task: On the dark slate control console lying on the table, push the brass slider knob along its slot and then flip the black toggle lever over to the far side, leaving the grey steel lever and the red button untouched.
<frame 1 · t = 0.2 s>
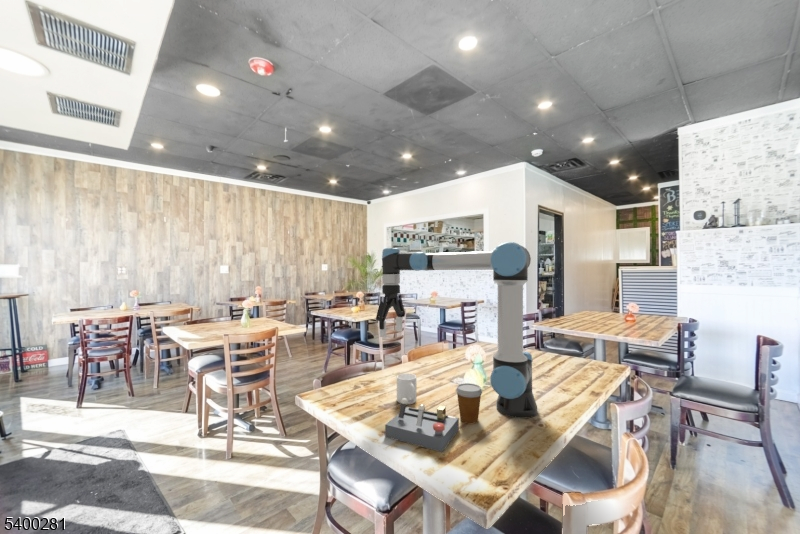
hand: (391, 334, 142), 28 cm above the table, fingers open, 13 cm apart
mug: (408, 403, 139), on the table
steel lever: (420, 415, 109), point 8 cm above the table, hinge at 25.0°
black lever: (403, 407, 115), point 8 cm above the table, hinge at 30.0°
red button: (438, 433, 104), resting on console
console: (422, 433, 113), on the table
brass slider: (441, 413, 114), point 6 cm above the table, slide at 0.0 cm
disposable coffee cup: (469, 420, 122), on the table
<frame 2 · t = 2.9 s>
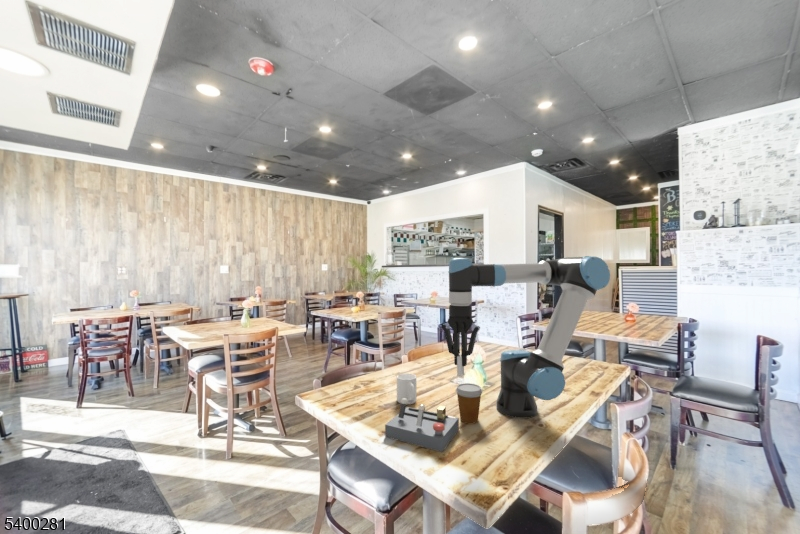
hand: (460, 375, 111), 20 cm above the table, fingers closed
nothing on the table moved.
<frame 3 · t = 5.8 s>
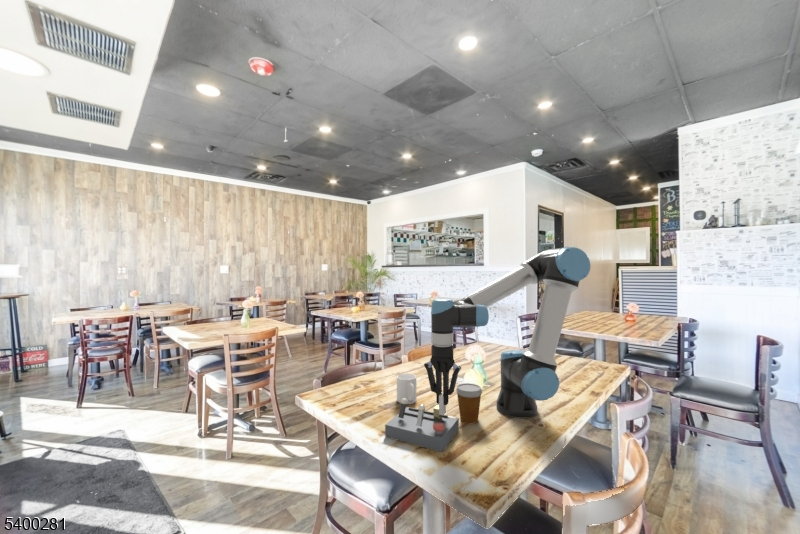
hand: (442, 413, 114), 6 cm above the table, fingers closed
brass slider: (437, 412, 115), point 6 cm above the table, slide at 1.3 cm, touching gripper
everything else where it was.
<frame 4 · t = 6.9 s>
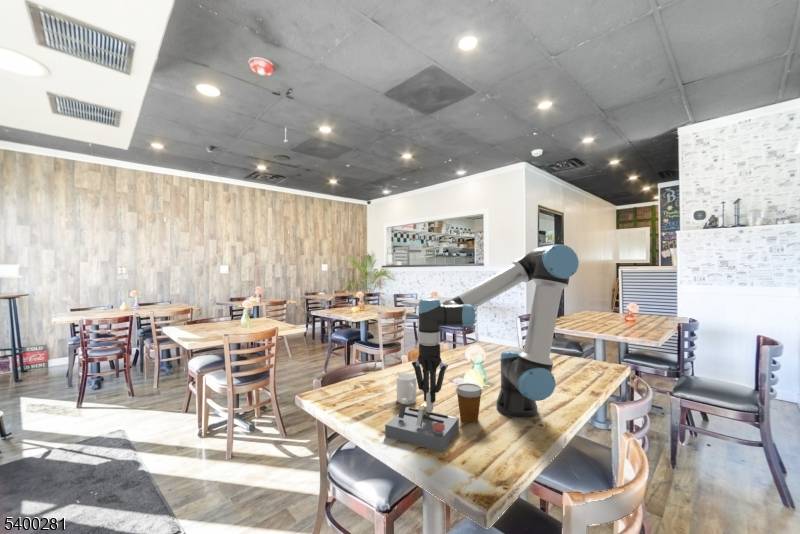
hand: (429, 410, 116), 6 cm above the table, fingers closed
brass slider: (425, 409, 117), point 6 cm above the table, slide at 6.0 cm, touching gripper
everything else where it was.
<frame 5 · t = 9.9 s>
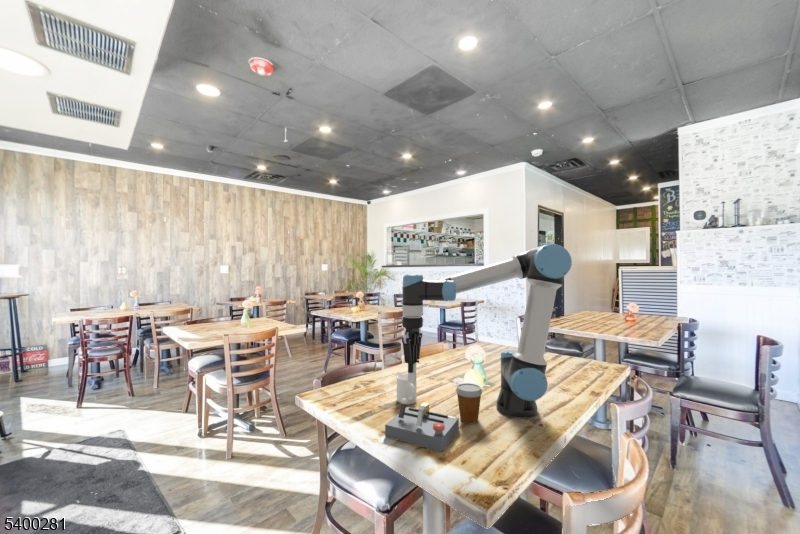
hand: (412, 380, 122), 15 cm above the table, fingers closed
brass slider: (424, 409, 117), point 6 cm above the table, slide at 6.2 cm
everything else where it was.
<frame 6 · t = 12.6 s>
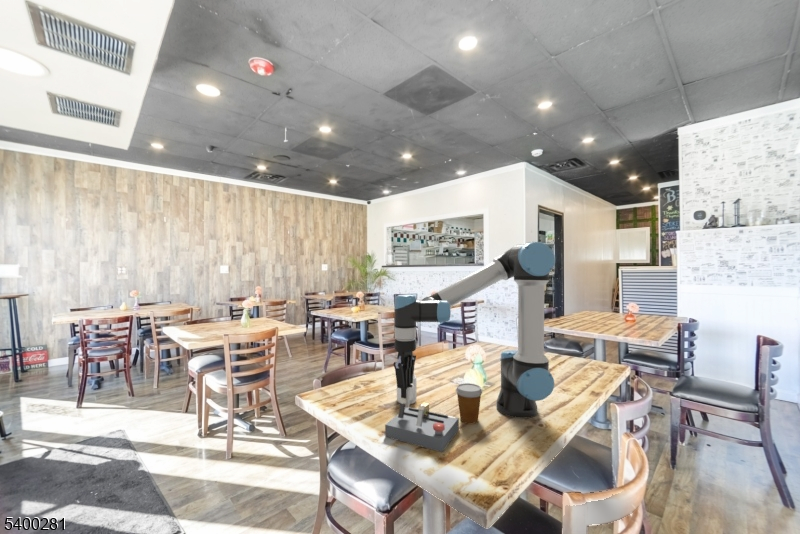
hand: (405, 406, 117), 7 cm above the table, fingers closed
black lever: (402, 407, 115), point 8 cm above the table, hinge at 21.3°, touching gripper
everything else where it was.
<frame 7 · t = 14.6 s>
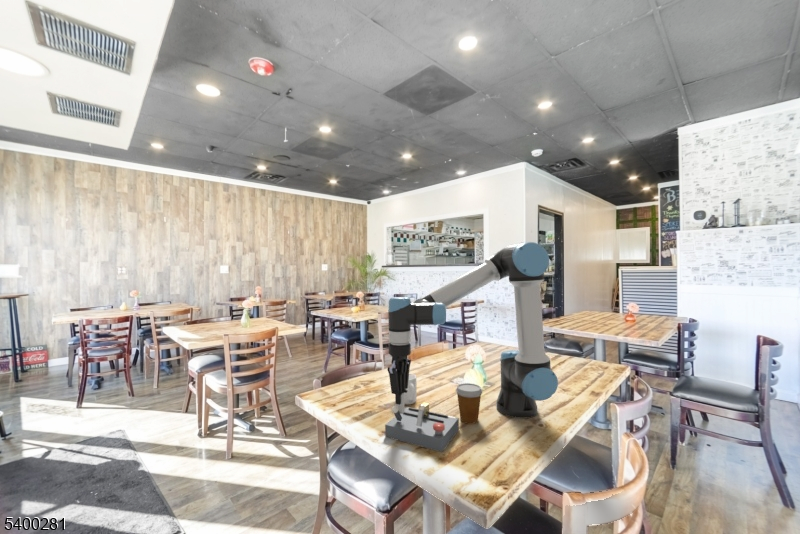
hand: (400, 412, 113), 7 cm above the table, fingers closed
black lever: (396, 413, 111), point 7 cm above the table, hinge at -35.9°
everything else where it was.
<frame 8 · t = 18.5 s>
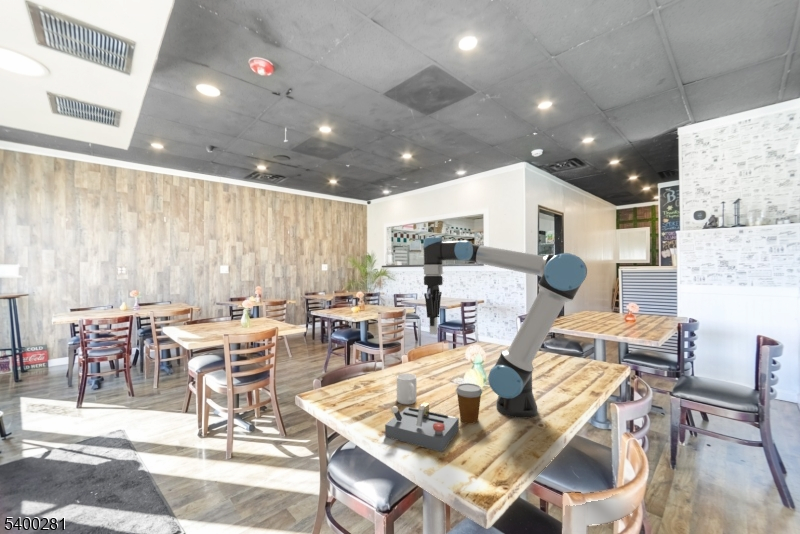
hand: (433, 333, 135), 29 cm above the table, fingers closed
nothing on the table moved.
at the end: brass slider slide at 6.2 cm; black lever at -36° (first picture: +30°); steel lever at +25° (first picture: +25°) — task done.
